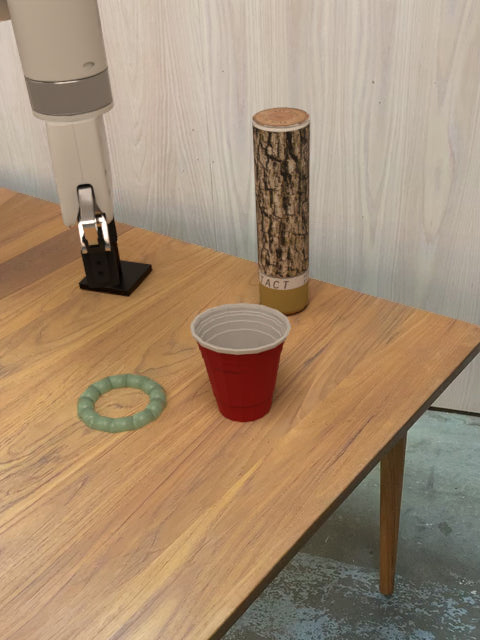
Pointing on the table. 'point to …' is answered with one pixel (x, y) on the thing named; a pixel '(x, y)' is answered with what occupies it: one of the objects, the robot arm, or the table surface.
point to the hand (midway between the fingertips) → (104, 263)
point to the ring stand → (123, 276)
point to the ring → (123, 423)
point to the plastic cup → (241, 356)
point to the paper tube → (282, 206)
